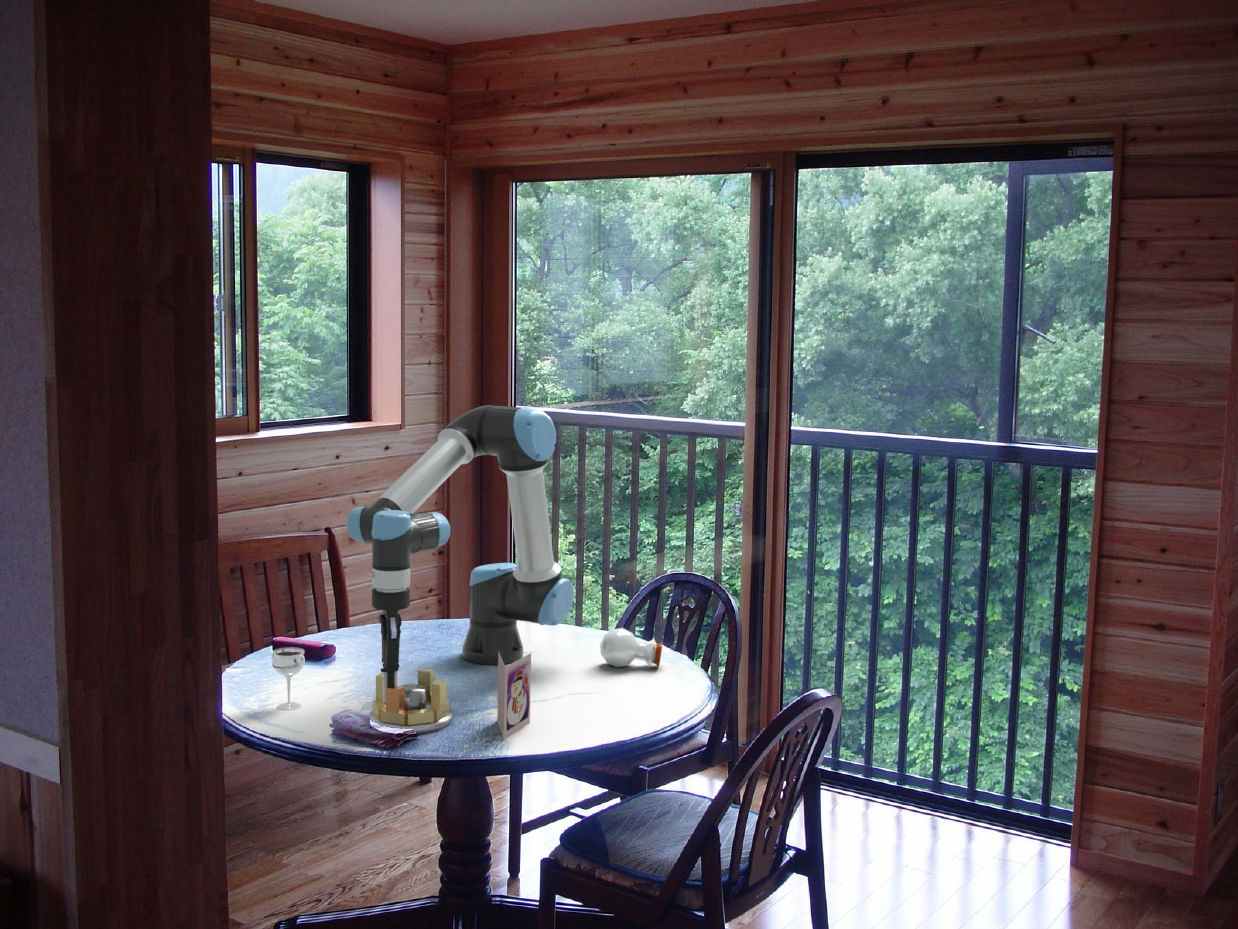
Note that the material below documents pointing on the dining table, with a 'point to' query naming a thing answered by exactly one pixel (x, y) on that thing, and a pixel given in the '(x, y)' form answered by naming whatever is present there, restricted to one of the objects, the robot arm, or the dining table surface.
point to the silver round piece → (416, 701)
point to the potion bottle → (628, 649)
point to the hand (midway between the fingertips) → (389, 700)
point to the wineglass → (288, 669)
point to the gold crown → (395, 701)
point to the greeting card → (513, 695)
